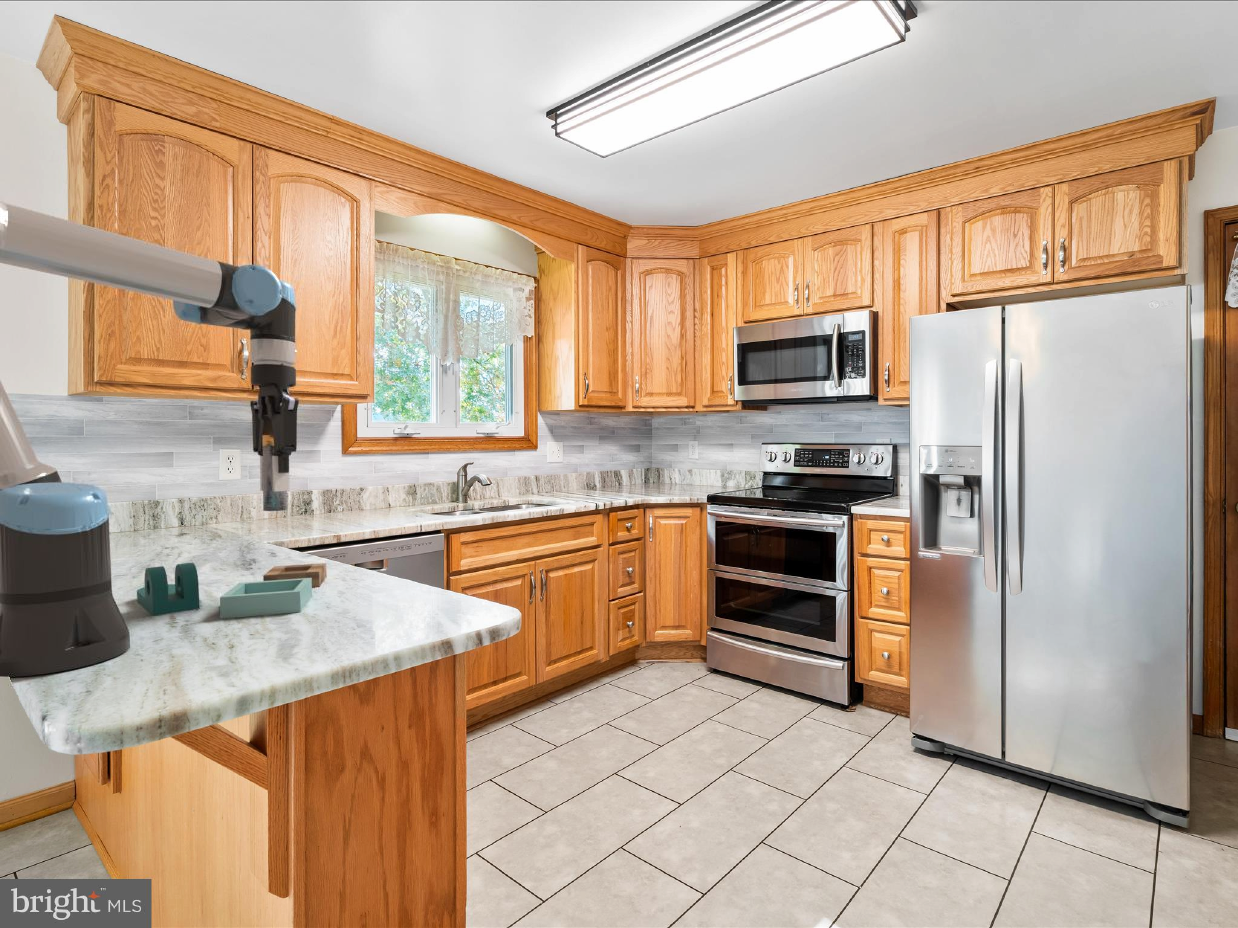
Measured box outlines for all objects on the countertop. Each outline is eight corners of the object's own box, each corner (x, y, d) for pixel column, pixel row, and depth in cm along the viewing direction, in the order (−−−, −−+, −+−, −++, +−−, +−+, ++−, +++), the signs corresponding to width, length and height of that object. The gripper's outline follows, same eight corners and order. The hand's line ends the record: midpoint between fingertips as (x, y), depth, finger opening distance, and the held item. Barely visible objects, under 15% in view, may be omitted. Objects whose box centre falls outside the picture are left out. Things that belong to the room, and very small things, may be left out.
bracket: (199, 609, 118) (197, 564, 118) (153, 617, 113) (151, 570, 113) (176, 594, 131) (174, 553, 131) (134, 600, 126) (132, 558, 126)
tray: (300, 611, 114) (299, 591, 114) (220, 618, 111) (219, 597, 110) (312, 596, 125) (311, 577, 125) (240, 602, 122) (239, 582, 122)
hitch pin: (269, 511, 124) (269, 434, 123) (259, 510, 126) (258, 435, 126) (291, 509, 127) (290, 435, 127) (280, 509, 129) (279, 435, 129)
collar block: (319, 586, 134) (319, 571, 134) (263, 590, 131) (263, 575, 131) (326, 577, 144) (326, 562, 144) (274, 580, 141) (274, 566, 141)
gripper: (317, 363, 124) (318, 491, 124) (271, 370, 134) (272, 488, 134) (276, 359, 118) (277, 493, 118) (231, 366, 128) (232, 490, 128)
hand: (274, 490), depth 126 cm, fingers closed on hitch pin, 4 cm apart
